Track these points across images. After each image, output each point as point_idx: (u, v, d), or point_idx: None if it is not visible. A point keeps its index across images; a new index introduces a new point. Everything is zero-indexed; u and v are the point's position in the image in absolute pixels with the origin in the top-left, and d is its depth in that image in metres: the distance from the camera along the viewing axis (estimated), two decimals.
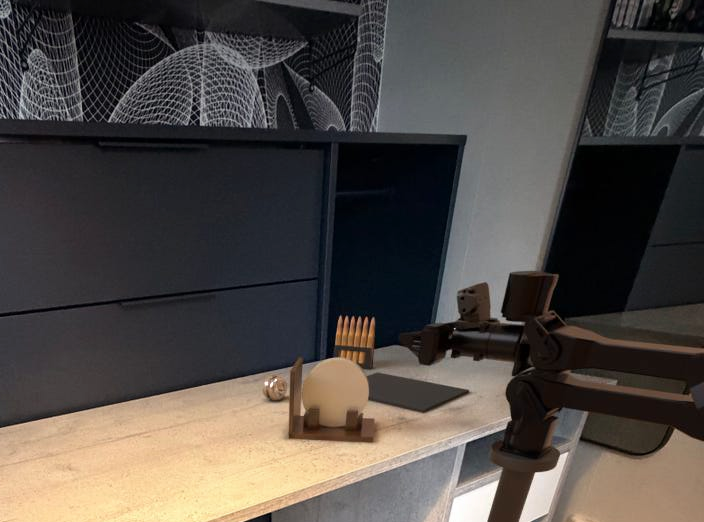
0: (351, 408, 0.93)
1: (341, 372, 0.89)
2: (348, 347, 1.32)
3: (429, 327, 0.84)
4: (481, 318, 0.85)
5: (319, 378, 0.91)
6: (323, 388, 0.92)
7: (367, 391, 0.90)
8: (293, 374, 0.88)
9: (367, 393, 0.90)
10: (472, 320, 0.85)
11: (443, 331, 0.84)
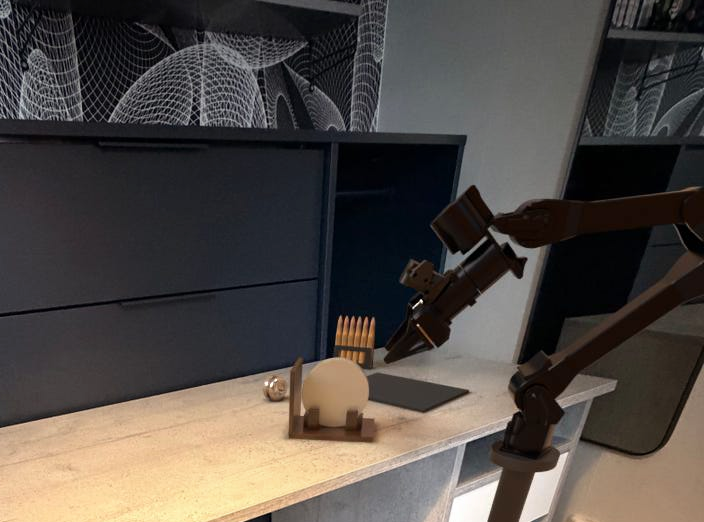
0: (351, 408, 0.93)
1: (341, 372, 0.89)
2: (348, 347, 1.32)
3: (418, 313, 0.74)
4: (441, 276, 0.77)
5: (319, 378, 0.91)
6: (323, 388, 0.92)
7: (367, 391, 0.90)
8: (293, 374, 0.88)
9: (367, 393, 0.90)
10: (437, 283, 0.77)
11: (431, 305, 0.75)
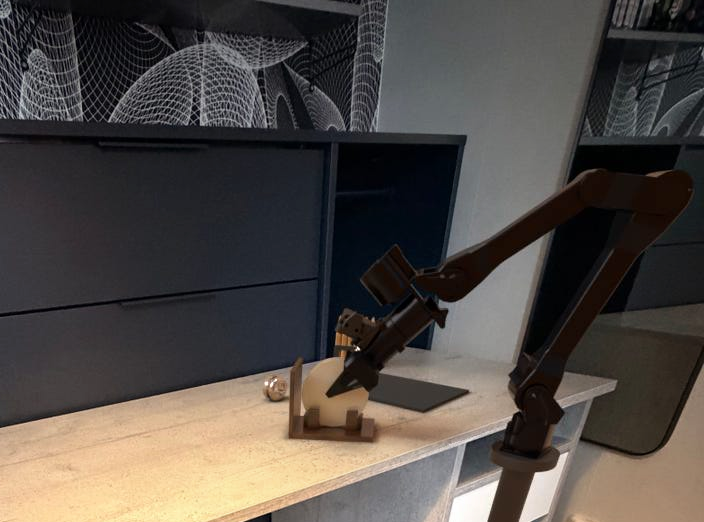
0: (351, 408, 0.93)
1: None
2: (348, 347, 1.32)
3: (348, 361, 0.81)
4: (372, 325, 0.84)
5: (319, 378, 0.91)
6: (323, 388, 0.92)
7: None
8: (293, 374, 0.88)
9: (367, 393, 0.90)
10: (368, 332, 0.83)
11: (361, 353, 0.81)
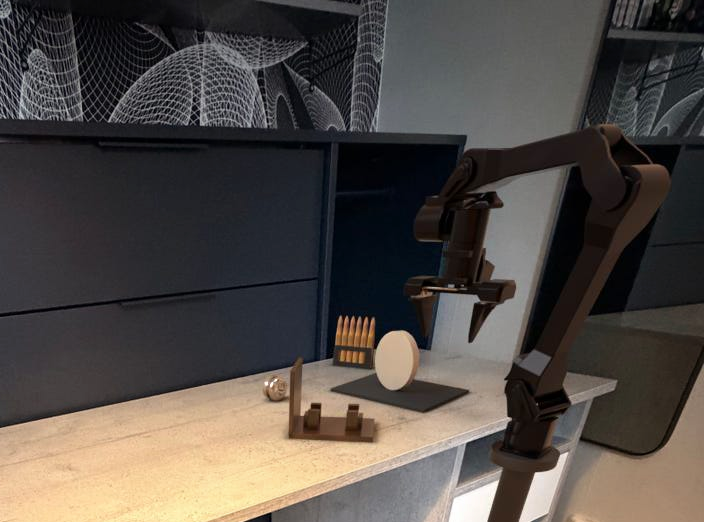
0: (403, 373, 1.09)
1: (396, 341, 1.08)
2: (348, 347, 1.32)
3: None
4: None
5: (384, 348, 1.12)
6: (386, 356, 1.12)
7: (412, 357, 1.06)
8: (293, 374, 0.88)
9: (412, 359, 1.06)
10: None
11: (427, 276, 0.97)
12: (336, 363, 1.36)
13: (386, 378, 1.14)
